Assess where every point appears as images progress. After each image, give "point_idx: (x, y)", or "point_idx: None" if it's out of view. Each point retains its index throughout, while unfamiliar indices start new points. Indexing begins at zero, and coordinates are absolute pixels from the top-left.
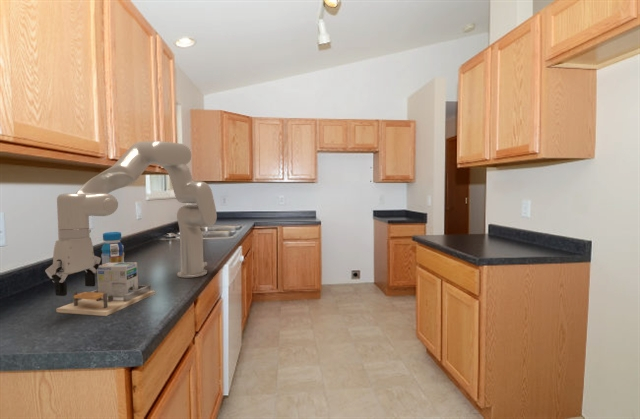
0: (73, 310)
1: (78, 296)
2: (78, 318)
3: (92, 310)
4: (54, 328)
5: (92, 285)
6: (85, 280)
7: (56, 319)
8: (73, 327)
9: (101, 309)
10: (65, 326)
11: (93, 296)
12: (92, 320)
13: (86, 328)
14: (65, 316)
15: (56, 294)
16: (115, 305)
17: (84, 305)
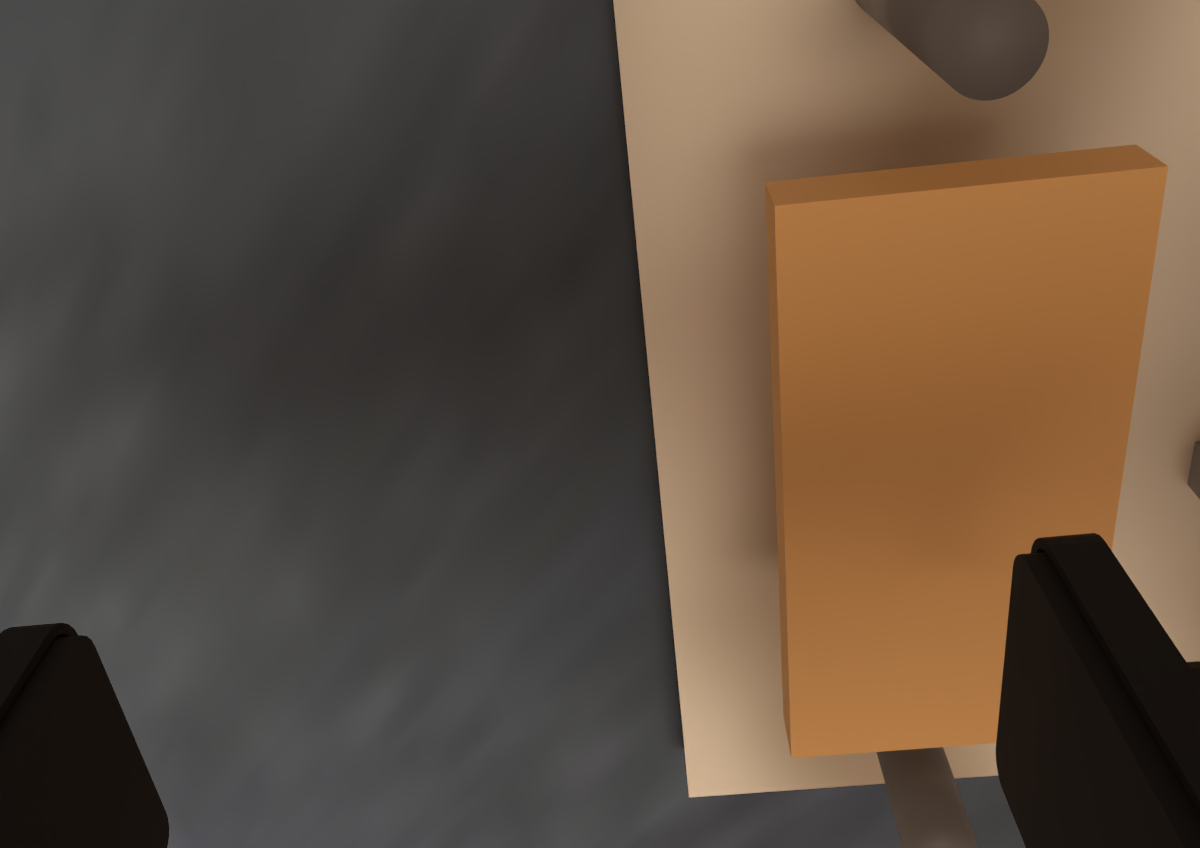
0: (634, 208)
1: (780, 345)
2: (485, 480)
3: (696, 574)
4: (76, 510)
5: (1001, 771)
6: (1084, 687)
7: (307, 164)
8: (228, 698)
9: (771, 662)
10: (196, 581)
11: (817, 693)
12: (498, 714)
13: (283, 843)
14: (474, 176)
15: (15, 650)
16: None
17: None
